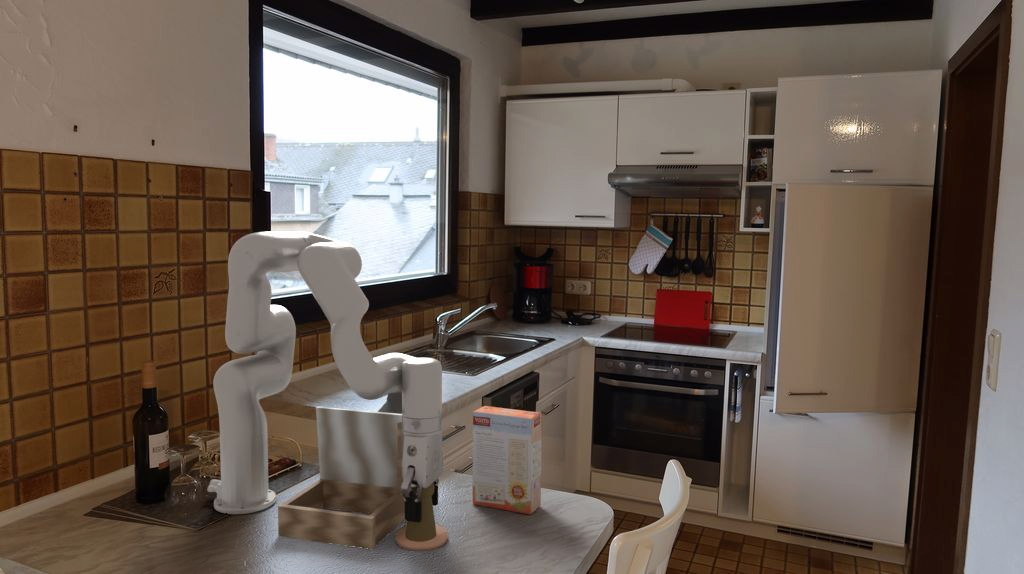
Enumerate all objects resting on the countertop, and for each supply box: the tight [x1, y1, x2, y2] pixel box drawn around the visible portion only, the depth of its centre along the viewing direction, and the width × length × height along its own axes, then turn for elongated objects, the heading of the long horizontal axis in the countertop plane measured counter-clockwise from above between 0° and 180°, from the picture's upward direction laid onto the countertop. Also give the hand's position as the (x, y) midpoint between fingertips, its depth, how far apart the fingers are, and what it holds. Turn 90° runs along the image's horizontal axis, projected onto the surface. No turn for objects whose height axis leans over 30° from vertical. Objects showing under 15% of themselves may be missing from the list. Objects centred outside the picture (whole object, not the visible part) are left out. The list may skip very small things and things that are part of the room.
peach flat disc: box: [395, 524, 449, 552], centre depth 141 cm, size 10×10×1 cm
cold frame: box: [277, 405, 405, 550], centre depth 145 cm, size 20×16×22 cm
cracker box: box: [472, 405, 543, 515], centre depth 157 cm, size 14×6×21 cm, turn 65°
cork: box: [405, 482, 436, 542], centre depth 140 cm, size 6×6×11 cm
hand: (421, 512), depth 140 cm, fingers open, 7 cm apart
